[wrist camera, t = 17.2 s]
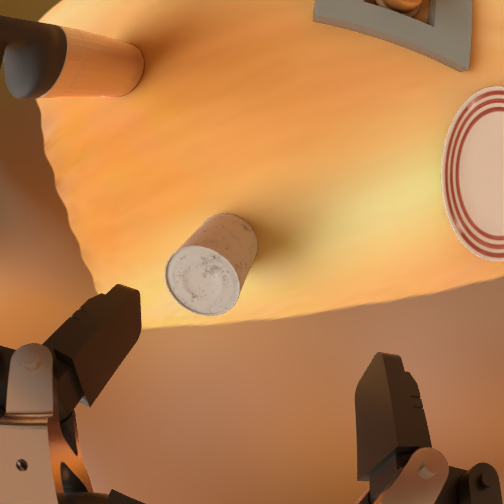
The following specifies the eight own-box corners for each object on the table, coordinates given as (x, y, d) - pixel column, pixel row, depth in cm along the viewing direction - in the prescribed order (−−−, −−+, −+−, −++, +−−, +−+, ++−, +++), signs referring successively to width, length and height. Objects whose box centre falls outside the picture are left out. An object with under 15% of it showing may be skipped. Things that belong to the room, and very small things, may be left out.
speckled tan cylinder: (266, 263, 46) (252, 308, 35) (211, 276, 49) (184, 321, 38) (244, 205, 43) (221, 235, 32) (188, 223, 46) (151, 257, 35)
